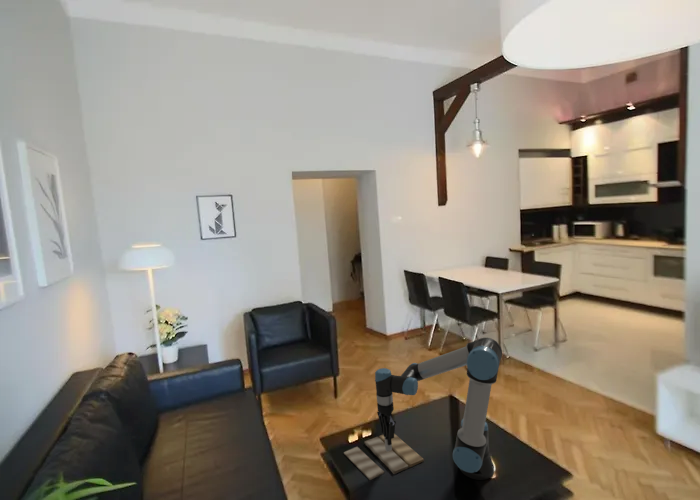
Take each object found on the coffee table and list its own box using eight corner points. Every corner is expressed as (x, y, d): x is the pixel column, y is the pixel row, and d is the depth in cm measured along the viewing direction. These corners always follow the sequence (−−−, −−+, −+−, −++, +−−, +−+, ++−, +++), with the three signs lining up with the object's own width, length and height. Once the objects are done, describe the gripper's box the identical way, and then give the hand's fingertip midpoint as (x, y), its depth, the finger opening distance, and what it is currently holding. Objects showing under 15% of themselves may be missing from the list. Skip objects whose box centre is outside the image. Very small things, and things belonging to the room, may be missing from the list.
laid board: (423, 461, 179) (423, 458, 179) (410, 467, 176) (409, 464, 176) (391, 433, 204) (391, 431, 204) (379, 438, 201) (379, 435, 201)
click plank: (408, 468, 175) (408, 465, 175) (394, 474, 172) (393, 471, 172) (377, 438, 200) (377, 436, 200) (364, 443, 197) (364, 441, 197)
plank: (384, 474, 173) (384, 471, 173) (370, 481, 169) (370, 478, 169) (357, 448, 194) (357, 446, 194) (343, 454, 190) (343, 452, 190)
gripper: (399, 405, 171) (403, 454, 173) (384, 394, 183) (388, 440, 184) (385, 410, 168) (389, 460, 170) (371, 399, 179) (374, 445, 181)
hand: (388, 449), depth 177 cm, fingers closed
